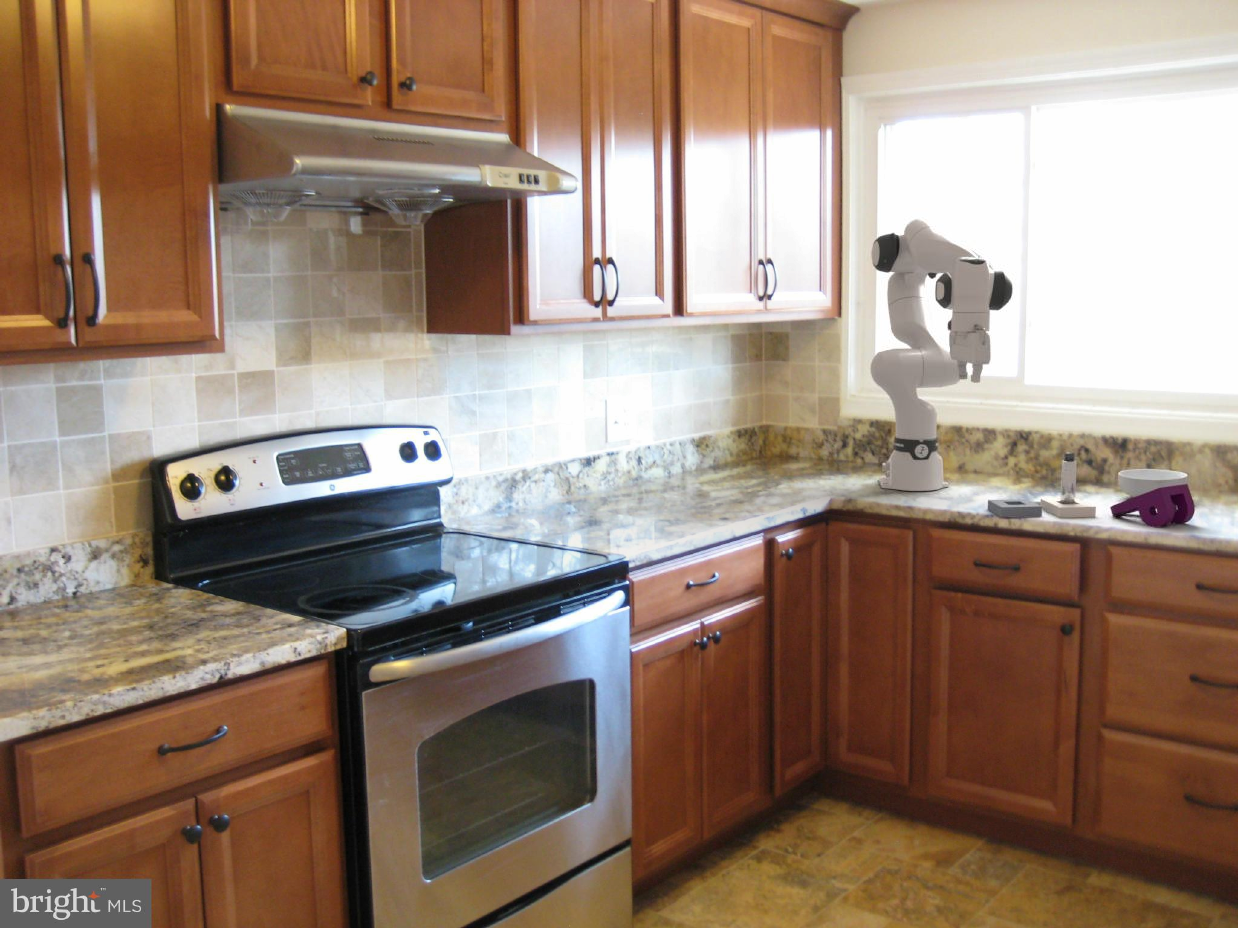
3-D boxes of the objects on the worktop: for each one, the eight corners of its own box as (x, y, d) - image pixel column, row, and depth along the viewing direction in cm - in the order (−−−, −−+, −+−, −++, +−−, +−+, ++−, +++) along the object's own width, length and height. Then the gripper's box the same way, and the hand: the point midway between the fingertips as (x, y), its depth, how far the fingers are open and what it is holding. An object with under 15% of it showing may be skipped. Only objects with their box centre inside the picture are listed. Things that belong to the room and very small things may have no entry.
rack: (1040, 508, 306) (1040, 498, 306) (1075, 507, 307) (1075, 497, 306) (1059, 517, 294) (1059, 507, 294) (1095, 516, 295) (1095, 506, 294)
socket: (987, 509, 306) (987, 499, 305) (1026, 508, 306) (1026, 499, 306) (1001, 517, 296) (1001, 507, 296) (1041, 516, 296) (1042, 506, 296)
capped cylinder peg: (1057, 511, 302) (1060, 452, 300) (1071, 511, 302) (1073, 451, 300) (1063, 514, 299) (1065, 454, 296) (1076, 513, 299) (1079, 453, 297)
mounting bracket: (1112, 542, 293) (1171, 522, 278) (1101, 509, 295) (1159, 487, 280) (1139, 538, 297) (1199, 518, 282) (1129, 505, 300) (1187, 483, 284)
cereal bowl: (1121, 492, 327) (1122, 466, 326) (1189, 497, 318) (1190, 470, 317) (1112, 503, 312) (1113, 476, 311) (1183, 508, 304) (1184, 480, 303)
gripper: (998, 325, 284) (996, 384, 286) (970, 322, 304) (968, 377, 307) (971, 326, 284) (970, 384, 286) (945, 323, 304) (943, 377, 306)
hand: (969, 380), depth 297 cm, fingers open, 8 cm apart
